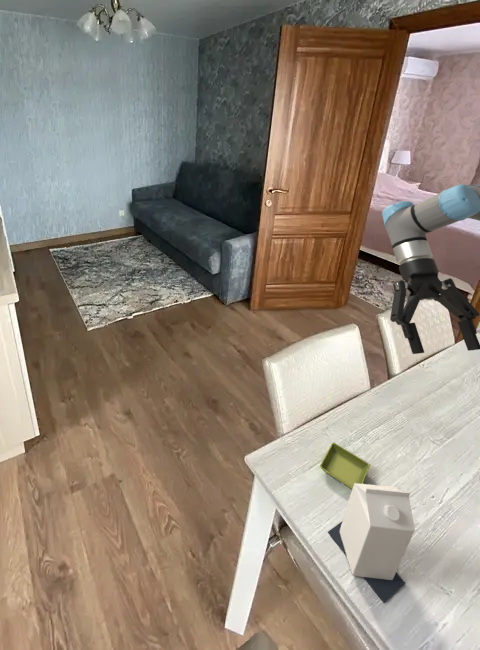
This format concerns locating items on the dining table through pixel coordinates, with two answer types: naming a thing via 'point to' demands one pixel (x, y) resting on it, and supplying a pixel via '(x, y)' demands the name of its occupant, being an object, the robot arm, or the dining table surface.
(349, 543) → the milk carton
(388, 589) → the edge strip
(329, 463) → the green rectangular tray
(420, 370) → the dining table surface
